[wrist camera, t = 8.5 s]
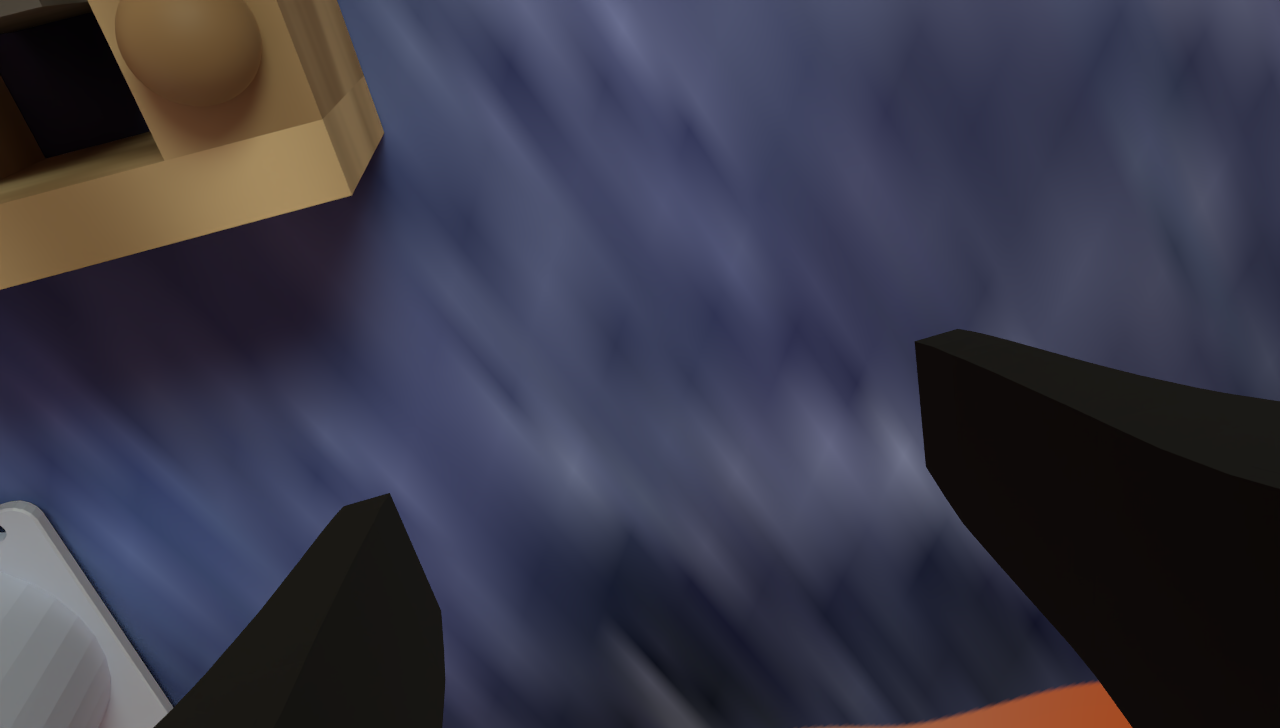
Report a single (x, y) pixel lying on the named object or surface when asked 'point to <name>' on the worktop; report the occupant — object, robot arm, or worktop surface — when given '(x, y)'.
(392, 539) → the robot arm
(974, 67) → the worktop surface
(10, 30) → the beige block
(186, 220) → the bracket
